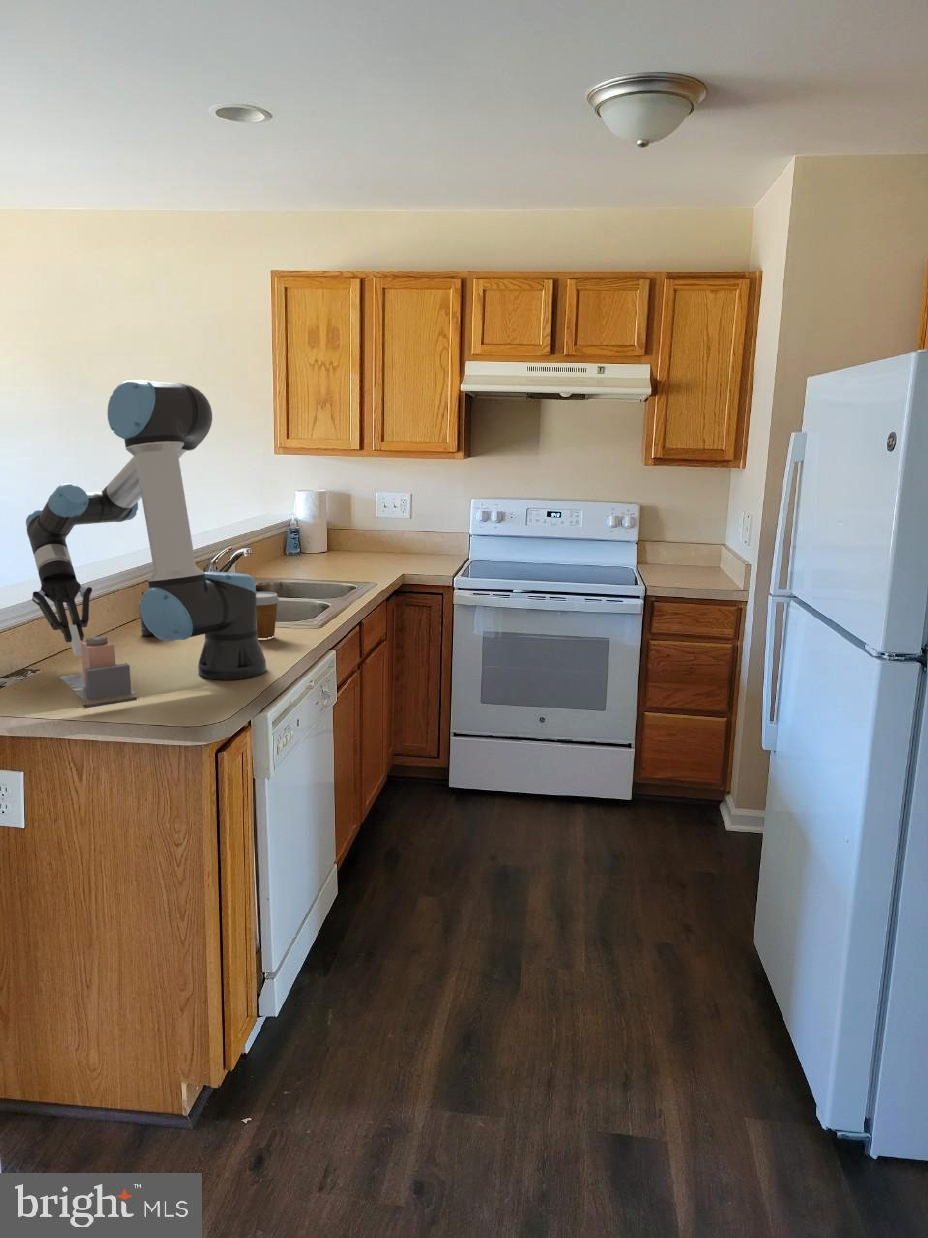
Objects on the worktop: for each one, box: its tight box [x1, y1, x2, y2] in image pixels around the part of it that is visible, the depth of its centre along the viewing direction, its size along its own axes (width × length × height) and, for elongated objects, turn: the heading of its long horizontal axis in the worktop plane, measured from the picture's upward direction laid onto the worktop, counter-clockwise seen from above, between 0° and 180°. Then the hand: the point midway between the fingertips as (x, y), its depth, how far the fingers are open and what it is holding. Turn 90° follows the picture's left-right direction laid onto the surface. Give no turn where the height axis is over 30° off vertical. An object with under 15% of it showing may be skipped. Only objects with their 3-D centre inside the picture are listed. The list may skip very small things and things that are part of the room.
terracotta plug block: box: [81, 636, 116, 686], centre depth 178 cm, size 6×5×10 cm
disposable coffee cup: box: [256, 591, 280, 638], centre depth 231 cm, size 10×10×12 cm
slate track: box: [59, 662, 138, 709], centre depth 181 cm, size 22×10×8 cm, turn 37°
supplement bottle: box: [138, 590, 157, 638], centre depth 233 cm, size 7×7×12 cm
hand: (78, 652), depth 191 cm, fingers closed
